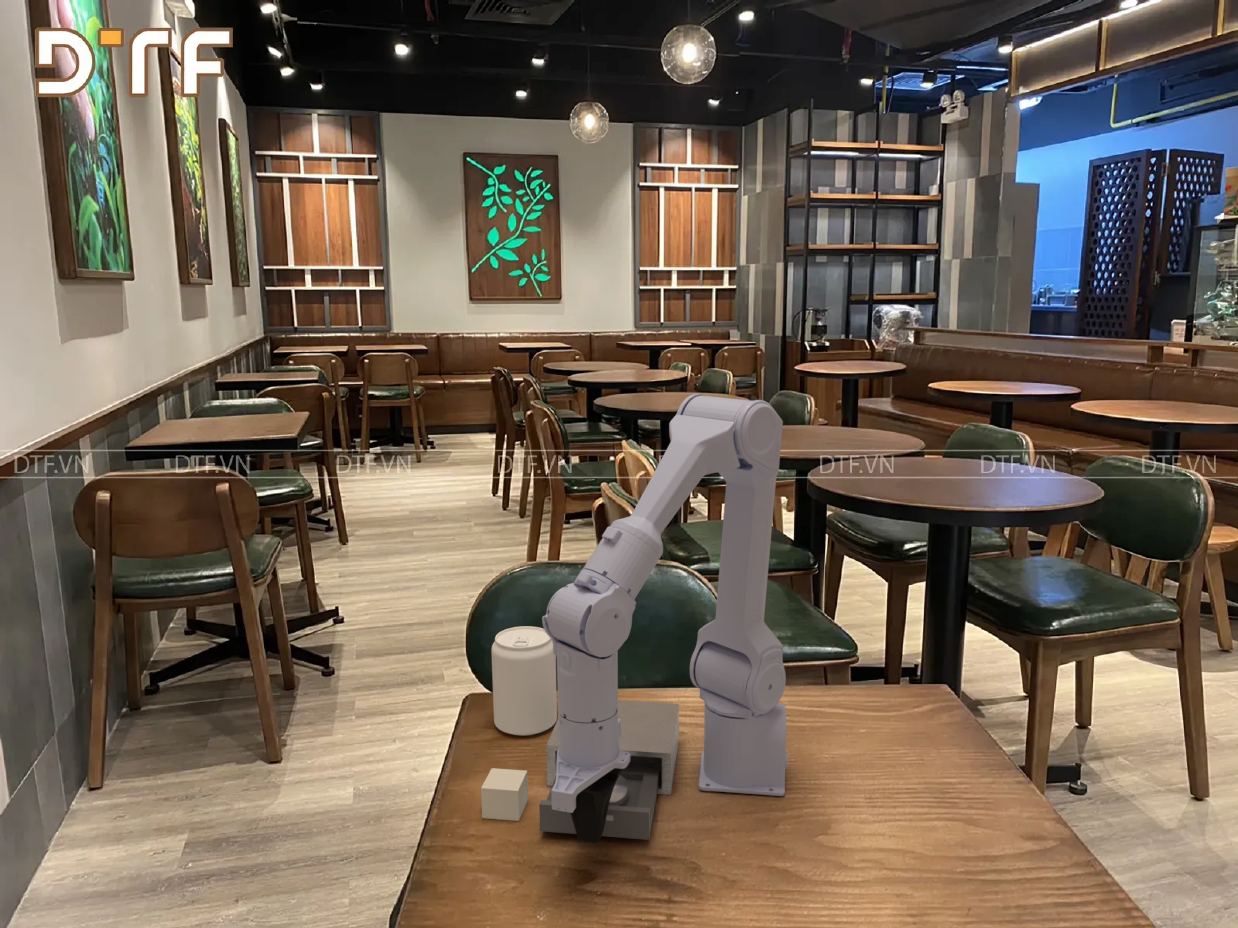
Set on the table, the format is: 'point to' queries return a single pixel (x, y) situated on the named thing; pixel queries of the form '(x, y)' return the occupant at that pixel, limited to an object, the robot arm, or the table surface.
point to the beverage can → (524, 681)
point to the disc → (619, 792)
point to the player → (639, 739)
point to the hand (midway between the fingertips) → (590, 837)
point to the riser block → (504, 794)
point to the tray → (615, 808)
